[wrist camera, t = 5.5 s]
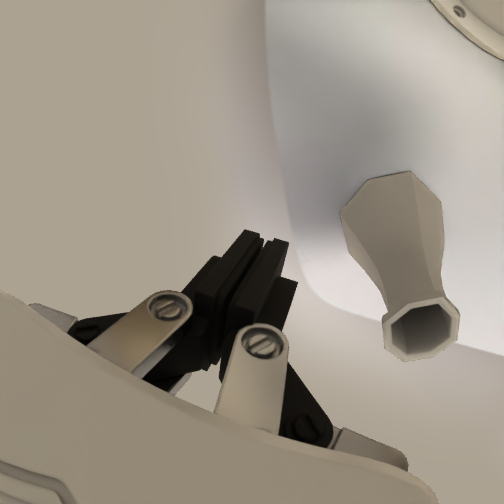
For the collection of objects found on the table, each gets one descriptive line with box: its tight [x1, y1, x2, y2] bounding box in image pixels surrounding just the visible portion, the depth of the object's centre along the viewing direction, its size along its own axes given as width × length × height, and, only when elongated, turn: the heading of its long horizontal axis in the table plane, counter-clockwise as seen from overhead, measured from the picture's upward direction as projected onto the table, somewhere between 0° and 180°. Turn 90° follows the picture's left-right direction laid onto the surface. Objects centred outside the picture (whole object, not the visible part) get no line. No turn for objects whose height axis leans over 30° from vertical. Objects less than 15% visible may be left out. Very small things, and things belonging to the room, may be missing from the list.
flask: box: [339, 171, 460, 362], centre depth 13 cm, size 7×7×10 cm
